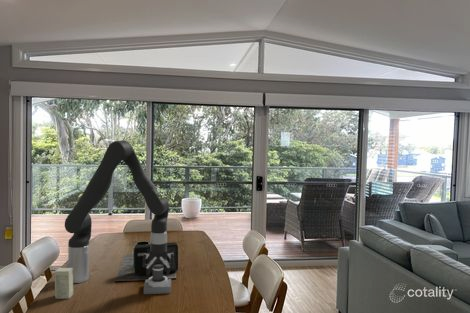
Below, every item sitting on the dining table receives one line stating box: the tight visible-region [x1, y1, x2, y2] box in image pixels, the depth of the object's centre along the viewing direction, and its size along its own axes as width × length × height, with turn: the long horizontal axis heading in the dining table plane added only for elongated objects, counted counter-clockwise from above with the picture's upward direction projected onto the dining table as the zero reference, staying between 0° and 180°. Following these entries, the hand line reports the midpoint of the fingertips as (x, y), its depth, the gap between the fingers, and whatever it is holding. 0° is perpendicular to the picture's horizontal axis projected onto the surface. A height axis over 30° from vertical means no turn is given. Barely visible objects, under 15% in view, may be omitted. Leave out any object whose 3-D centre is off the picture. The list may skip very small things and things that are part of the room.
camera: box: [133, 241, 179, 276], centre depth 180 cm, size 23×10×15 cm, turn 105°
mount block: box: [143, 275, 172, 295], centre depth 162 cm, size 12×9×5 cm
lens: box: [152, 264, 164, 282], centre depth 162 cm, size 5×5×8 cm
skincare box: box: [54, 267, 74, 300], centre depth 152 cm, size 6×4×12 cm
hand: (158, 275), depth 162 cm, fingers open, 8 cm apart
